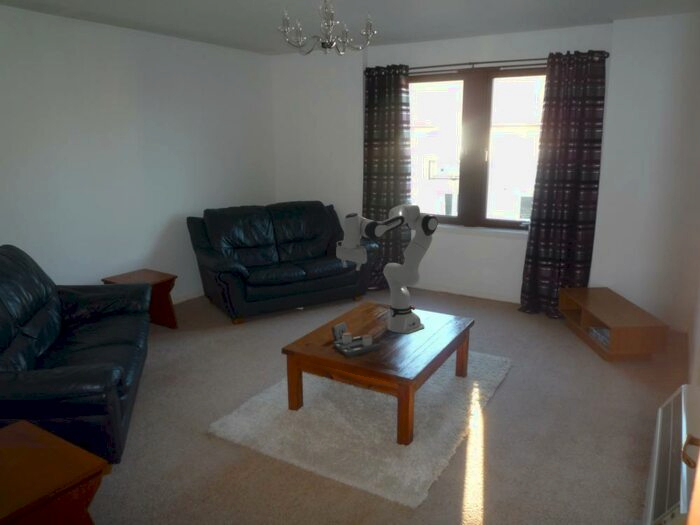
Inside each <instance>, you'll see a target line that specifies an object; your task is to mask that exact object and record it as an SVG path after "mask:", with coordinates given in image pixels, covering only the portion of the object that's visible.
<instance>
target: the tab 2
mask: <svg viewBox="0 0 700 525" xmlns="http://www.w3.org/2000/svg"><path fill="white" fill-rule="evenodd" d="M361 336H362V337H363V346H364V347H365V346H370V345H372V340H373V336H372V335H371V334H363V335H361Z"/></svg>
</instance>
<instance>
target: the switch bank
mask: <svg viewBox="0 0 700 525" xmlns="http://www.w3.org/2000/svg"><path fill="white" fill-rule="evenodd" d="M362 336H363V335H360V336H354V337H352V343H348V344H344V343H342V340H340V341H333V347H334V348H336V349H338V350H339V351H340V352H341V353H342V354H344V355H345V356H347V357H352V356H357V355H361V354H367V353H370V352H374V351H379V350H381V347H382V346H381V344H380V343H376V341H375V340H374V339H372V345H370V346H365V347H364V346H363V337H362Z"/></svg>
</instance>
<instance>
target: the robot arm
mask: <svg viewBox="0 0 700 525" xmlns="http://www.w3.org/2000/svg"><path fill="white" fill-rule="evenodd" d="M438 223H439V220H438V219H437V217H436V216H435V215H433V214H431V213H426V212H421V209H420V207H419V205H418V204H417V203H415V202H408V203H403V204H399V205H396V206H394V207H392V208H391V209H390V210H389V212H388V219H385V220H383V221H380V220H379V221H377V220H372V219H369V218H365V217H364V216H362V215H360V214H359V213H355V212H354V213H353V212H352V213H348V214H346V215H345V217H344V220H343V239H342V240H339V241H337V242H336V248H335V250H336V251H335V253H336V255H335V256H336V258H337V259H340V260H341V263H342V267H343V268H348V263H347V261H349V262H353V263H356V267H355V271H357V272H358V271H360V270H361V266H362V264H363V265H364V264H367V262H368V254H367V249H366V247H365V246H364V245H361V237H364V238H368V239H370V240H372V241H378V240H381V238H383V237H384V236H385V235H386V234H387V233H389V232H392V231H394V230H395V229H398V228H400V227H401V226H403V225H405V226H406V228H407V229H409V230H412V231H415V233H414V236H413V238H412V239H411V240H410V242H409V244H408V245H407V247H406V248H405V249H404V251H403V257H404V261H403V264H400V263H397V262H388V263H387V264H386V265H385V266H384V268H383V272H382V274H383V275H384V277H385V279H386V281H387V283H388V287H389V291H390V305H389V320H388V326H387V329H388V331H390V332H393V333H398V334H401V333H402V334H412V333H414V332H416V331H419V330H420V331H421V330H423V329H425V328H426V327H425V325H424V323H422V321H421V317H420V316H419V315H417V314H416V313H415V312H413V311H415V310H416V306H413V305H410V303H411V302H410V300H411V299H410V297H411V294H410V292H409V290H408V288H407V287H411V288H412V287H415V286H417V285H418V283H419V281H420V273H419V267H420V264H421V261H422V260H423V259H424V256H425V255H426V253H427V251H428V250H429V248H430V247H431V244H432V241H433V234H434V233H435V231H436V230H437V228H438V225H439V224H438Z"/></svg>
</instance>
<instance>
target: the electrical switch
mask: <svg viewBox="0 0 700 525" xmlns="http://www.w3.org/2000/svg"><path fill="white" fill-rule="evenodd" d="M347 327H348V326H347V324H346V322H345V321H343V322H340V323H338V324H336V325H334V326H331V328H330V329H331V333H332V336H333V340H334V341H333V342H335V341H340V340H342V334H343V333H347V332H348V328H347Z"/></svg>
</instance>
